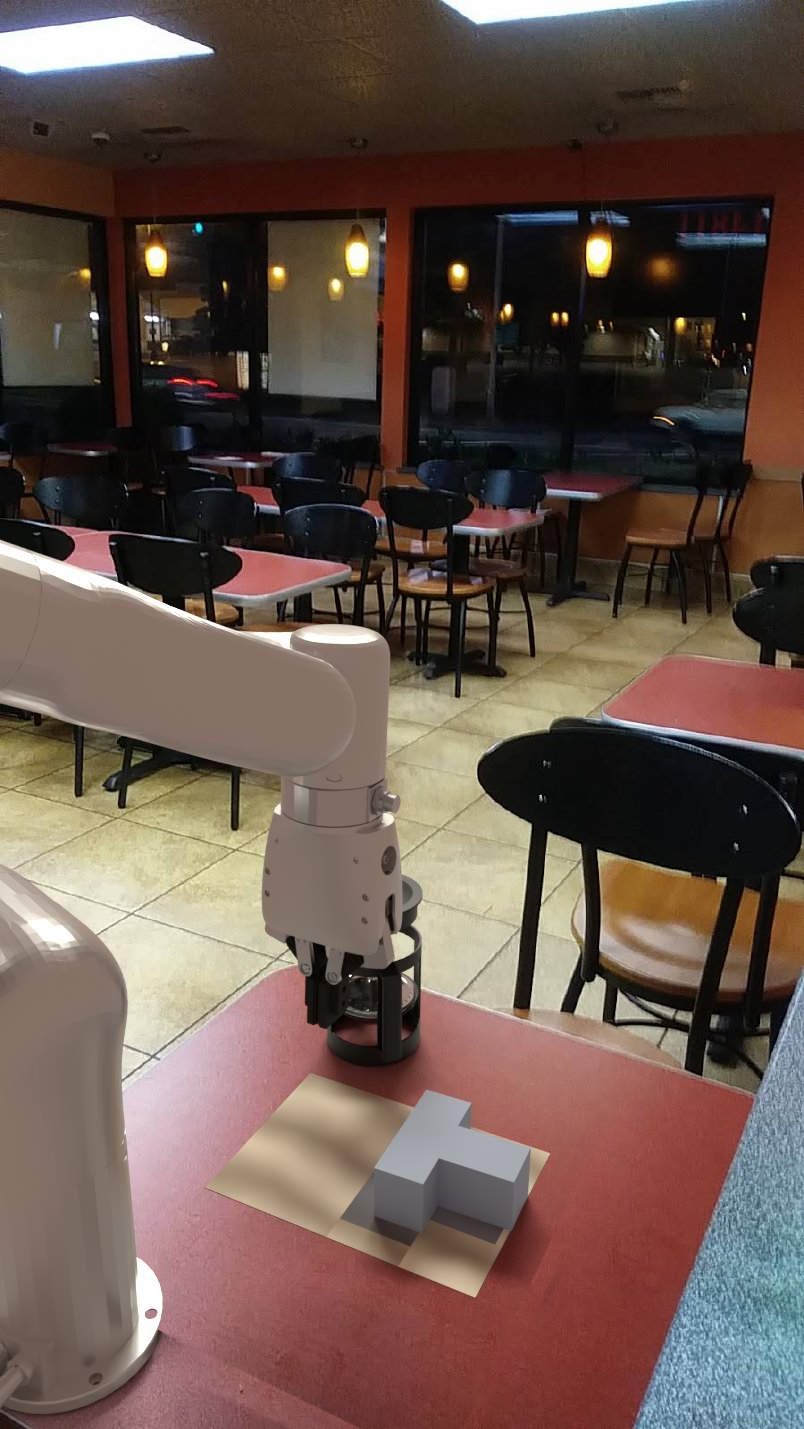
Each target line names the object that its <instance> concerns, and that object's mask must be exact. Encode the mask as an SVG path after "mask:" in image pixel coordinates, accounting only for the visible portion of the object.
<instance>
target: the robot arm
mask: <svg viewBox="0 0 804 1429" xmlns="http://www.w3.org/2000/svg"><path fill="white" fill-rule="evenodd" d="M390 651H391V650H390V646H389V644H388V642H387V640H386V639H385V637H384V636H382V634H380V632H377V631H376V630H373V629H370V628H367V627H363V626H358V625H352V624H341V623H340V624H338V623H334V624H333V623H332V624H331V623H329V624H328V623H324V624H315V625H308V626H304V627H300V628H299V629H297V630H294V631H286V632H285V631H283V632H281V631H279V632H278V631H275V632H274V631H273V632H272V631H271V632H269V631H248V630H247V631H244V630H235V629H233V628H230V627H226V626H224V625H221V624H218V623H216V622H213V621H210V620H207V619H205V618H201V617H200V616H196V615H194V614H191V613H189V612H186V611H184V610H181V609H178V608H176V607H173V606H170V605H168V604H166V603H164V602H161V601H159V600H156V599H154V598H152V597H151V596H148V595H146V594H143V593H142V592H140V591H138V590H135V589H133V588H131V587H129V586H126V585H124V584H122V583H120V582H117V581H115V580H112V579H111V578H108V577H106V576H103V575H99V574H98V573H94V572H93V571H89V570H87V569H85V568H82V567H79V566H77V565H73V564H71V563H68V562H66V561H62V560H60V559H56V558H54V557H51V556H48V555H44V554H42V553H38V552H36V551H33V550H30V549H27V548H25V547H21V546H19V545H17V544H12V543H10V542H7V541H4V540H1V539H0V704H2V705H6V706H10V707H14V708H18V709H22V710H26V711H29V712H34V713H38V714H40V715H44V716H45V715H46V716H48V717H51V718H53V719H57V720H60V721H63V722H66V723H69V724H73V725H77V726H79V727H80V726H81V727H84V728H87V729H88V728H89V729H93V730H96V731H102V732H105V733H110V734H115V735H119V736H122V737H127V738H130V739H131V738H132V739H135V740H139V741H142V742H146V743H148V744H149V743H150V744H153V745H157V746H160V747H164V748H167V749H170V750H174V751H176V752H180V753H185V754H187V755H188V754H189V755H191V756H195V757H199V758H203V759H207V760H211V761H214V762H217V763H222V764H228V765H231V766H235V767H238V768H239V767H240V768H244V769H248V770H253V771H257V772H261V773H265V774H271V775H274V776H275V775H276V776H279V777H280V803H279V804H277V805H276V806H275V807H274V810H273V813H272V818H271V821H270V825H269V827H268V828H269V829H268V833H267V834H268V835H267V838H266V839H267V840H266V846H265V850H264V857H263V868H262V877H261V878H262V880H261V912H262V918H263V920H264V923H265V925H264V931H265V933H266V934H267V935H268V936H270V937H271V938H273V939H274V940H277V941H278V942H280V943H282V944H283V945H284V944H286V946H287V947H288V949H289V950H290V952H291V953H292V955H293V956H294V958H296V961H297V968H298V971H299V973H300V974H301V975H302V976H304V977H305V978H304V979H305V980H304V1005H305V1006H306V1024H308V1025H311V1026H315V1025H318V1027H319V1028H321V1029H323V1030H327V1028H328V1027H329V1026H330V1025H331V1024H332V1023H333V1022H334V1021H336V1020H337V1019H338V1018H339V1017H341V1016H342V1015H343V1014H344V1013H345V1012H346V1010H347V1008H348V1002H349V975H350V974H351V973H352V972H354V971H355V970H357V969H358V968H360V967H366V968H373V969H385V968H386V967H387V966H388V965H389V964H391V963H392V962H393V961H395V958H396V957H395V950H394V945H393V940H392V935H397V934H398V933H400V932H399V930H400V928H401V924H402V875H403V874H402V861H401V860H402V859H401V858H402V857H401V851H400V843H399V837H398V831H397V826H396V821H395V817H394V816H393V815H392V814H396V813H398V811H399V810H400V807H401V802H402V800H401V796H400V795H399V794H394V793H392V791H390V790H388V778H387V777H386V766H387V765H386V764H387V745H388V720H389V704H390V703H389V699H390V698H389V697H390V676H391V675H390V673H391V652H390ZM329 947H330V951H329ZM125 980H126V979H125V977H124V973H123V972H122V968H121V967H120V965H119V963H118V961H117V959H116V958H115V955H114V954H113V953H112V951H111V950H110V949H109V947H108V946H107V945H106V944H105V942H104V941H103V940H102V939H101V938H100V937H99V936H98V935H97V934H96V933H95V932H94V931H93V930H91V929H90V927H89V926H88V925H86V924H85V923H83V922H82V921H81V920H80V919H78V918H77V917H76V916H75V915H74V914H72V913H71V912H70V911H68V910H67V909H66V908H65V907H63V906H62V905H61V904H60V903H58V902H56V901H55V900H53V899H52V898H51V897H50V896H48V894H46V893H44V892H43V891H42V890H41V889H40V888H38V886H36V885H35V884H33V883H32V882H30V880H28V879H27V878H25V877H24V876H22V875H21V874H20V873H18V872H17V871H15V870H13V869H12V868H10V867H8V866H6V865H4V864H2V863H0V1409H1V1408H2V1407H5V1408H7V1409H10V1410H12V1411H17V1412H21V1413H24V1414H31V1415H32V1414H34V1415H35V1414H37V1415H38V1414H40V1415H52V1414H59V1413H65V1412H70V1411H72V1410H76V1409H81V1408H82V1407H86V1406H88V1405H91V1404H93V1403H95V1402H98V1401H99V1400H101V1399H103V1398H106V1397H107V1396H109V1395H110V1394H113V1392H115V1391H117V1390H118V1389H119V1388H121V1387H122V1386H124V1385H125V1384H126V1383H127V1382H128V1381H129V1380H130V1379H131V1378H133V1376H135V1375H136V1374H137V1373H139V1371H140V1370H141V1368H142V1367H143V1366H144V1365H145V1364H146V1362H147V1361H148V1360H149V1358H150V1357H151V1356H152V1354H153V1351H154V1350H155V1348H156V1346H157V1345H158V1343H159V1340H160V1339H161V1338H160V1337H161V1334H162V1331H161V1330H160V1329H159V1327H160V1323H161V1321H162V1320H161V1319H162V1315H163V1310H164V1296H163V1293H162V1292H163V1291H162V1288H161V1284H160V1281H159V1280H158V1278H157V1276H156V1274H155V1272H154V1270H152V1268H150V1266H149V1265H148V1264H147V1263H146V1262H145V1261H143V1260H142V1259H140V1258H139V1257H138V1256H137V1244H136V1235H135V1224H134V1223H135V1222H134V1221H135V1220H134V1213H133V1200H132V1189H131V1176H130V1168H129V1166H130V1164H129V1155H128V1143H127V1132H126V1122H125V1115H124V1114H125V1111H124V1097H123V1096H124V1095H123V1074H122V1073H123V1071H122V1070H123V1067H122V1066H123V1052H124V1051H123V1050H124V1042H125V1034H126V1028H127V1021H128V1020H127V1019H128V1009H129V1008H128V1007H129V1002H128V1001H129V1000H128V989H127V984H126V981H125ZM150 1310H156V1312H157V1314H156V1316H155V1317H154V1318H150V1319H148V1318H147V1317H146V1315H145V1314H146V1313H147V1311H150Z"/></svg>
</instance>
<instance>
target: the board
mask: <svg viewBox="0 0 804 1429" xmlns="http://www.w3.org/2000/svg"><path fill="white" fill-rule="evenodd" d="M414 1107H415V1106H412V1105H411V1106H410V1105H407V1104H405V1103H403V1102H399V1101H395V1100H392V1099H390V1098H386V1097H383V1096H380V1095H378V1094H375V1093H371V1092H369V1091H366V1090H363V1089H360V1088H356V1087H355V1086H351V1085H348V1084H345V1083H342V1082H339V1081H336V1080H333V1079H330V1078H327V1077H324V1076H321V1075H318V1074H315V1073H311V1072H310V1073H309V1074H308V1075H307V1076H306V1077H305V1078H304V1079H303V1080H302V1082H301V1083H300V1084H298V1086H297V1087H296V1088H295V1089H294V1090H293V1091H292V1092H291V1093H290V1095H288V1097H287V1098H286V1099H285V1100H284V1101H283V1102H282V1103H281V1104H280V1105H279V1106H278V1107H277V1109H275V1111H274V1112H273V1113H272V1114H271V1115H270V1116H269V1117H268V1118H267V1119H266V1121H265V1122H264V1123H262V1125H261V1126H260V1127H259V1128H258V1130H257V1131H255V1133H253V1135H252V1136H251V1137H250V1138H249V1139H248V1140H247V1141H246V1142H245V1144H244V1145H243V1146H242V1147H241V1148H239V1150H238V1151H237V1152H236V1154H234V1155H233V1156H232V1158H231V1159H230V1160H229V1161H227V1163H226V1164H225V1165H224V1166H223V1167H222V1169H221V1170H220V1171H219V1172H218V1173H217V1174H216V1175H214V1177H213V1178H212V1179H211V1180H210V1182H209V1183H208V1184H207V1185H206V1186H205V1187H204V1188H205V1189H206V1190H209V1191H211V1192H215V1193H216V1194H219V1195H221V1196H223V1197H226V1198H229V1199H231V1200H234V1201H237V1202H239V1203H241V1204H244V1205H246V1206H248V1207H251V1208H252V1209H255V1210H258V1211H260V1212H263V1213H265V1214H268V1215H269V1216H272V1217H275V1218H277V1219H281V1220H283V1221H285V1222H288V1223H291V1224H292V1225H295V1226H298V1227H299V1228H302V1229H305V1230H306V1231H310V1232H312V1233H314V1234H317V1235H319V1236H321V1237H324V1238H327V1239H329V1240H332V1241H334V1242H337V1243H339V1244H341V1245H343V1246H347V1247H349V1248H352V1249H354V1250H356V1251H359V1252H361V1253H364V1254H366V1255H368V1256H371V1257H374V1258H376V1259H379V1260H381V1261H383V1262H385V1263H388V1264H391V1265H393V1266H396V1267H398V1268H400V1269H403V1270H406V1271H408V1272H411V1273H412V1274H415V1275H417V1276H420V1277H423V1278H425V1279H428V1280H430V1281H433V1282H434V1283H437V1284H439V1285H442V1286H445V1287H447V1288H450V1289H452V1290H454V1291H457V1292H460V1293H462V1294H464V1295H467V1296H468V1297H471V1298H474V1299H476V1297H477V1296H478V1293H479V1292H480V1289H481V1288H482V1286H483V1285H484V1283H485V1281H486V1278H487V1276H488V1275H489V1272H490V1270H491V1269H492V1266H493V1265H494V1263H495V1261H496V1259H497V1257H498V1255H499V1253H500V1251H501V1249H502V1247H503V1246H504V1244H505V1242H506V1240H507V1238H508V1236H509V1234H510V1233H511V1231H510V1230H507V1229H504V1228H501V1227H498V1226H495V1225H492V1224H489V1223H486V1222H483V1221H480V1220H478V1219H475V1218H472V1217H469V1216H466V1215H463V1214H460V1213H457V1212H454V1211H451V1210H448V1209H445V1208H442V1207H440V1206H437V1208H436V1210H435V1211H434V1213H433V1215H432V1217H431V1219H430V1220H429V1222H428V1224H427V1226H426V1227H425V1229H424V1231H423V1233H420V1232H417V1231H415V1230H412V1229H409V1228H406V1227H403V1226H401V1225H398V1224H395V1223H392V1222H389V1221H386V1220H384V1219H381V1218H378V1217H375V1216H374V1167H375V1166H376V1164H377V1163H378V1161H379V1160H380V1158H381V1157H382V1155H383V1154H384V1152H385V1151H386V1149H387V1148H388V1146H389V1145H390V1143H391V1142H392V1140H393V1139H394V1137H395V1136H396V1134H397V1133H398V1131H399V1130H400V1128H401V1127H402V1125H403V1124H404V1122H405V1121H406V1119H407V1118H408V1116H409V1115H410V1113H411V1112H412V1110H413V1109H414ZM471 1130H474V1131H477V1132H480V1133H484V1134H487V1135H490V1136H493V1137H497V1138H500V1139H503V1140H506V1141H510V1142H513V1143H516V1144H519V1145H523V1146H526V1147H529V1148H531V1153H530V1171H529V1188H528V1197H527V1199H526V1201H525V1203H526V1202H527V1200H528V1198H529V1196H530V1194H531V1192H532V1190H533V1188H534V1187H535V1184H536V1182H537V1180H538V1179H539V1176H540V1174H541V1172H542V1171H543V1168H544V1166H545V1165H546V1163H547V1161H548V1159H549V1157H550V1155H551V1153H550V1152H547V1151H545V1150H542V1149H539V1148H535V1147H533V1146H530V1145H526V1144H524V1143H521V1142H518V1141H515V1140H512V1139H509V1138H505V1137H503V1136H500V1135H497V1134H494V1133H491V1132H488V1131H485V1130H482V1129H479V1128H476V1127H473V1126H471ZM525 1203H524V1205H525Z"/></svg>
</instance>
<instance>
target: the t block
mask: <svg viewBox="0 0 804 1429" xmlns="http://www.w3.org/2000/svg"><path fill="white" fill-rule="evenodd" d="M413 1107H414V1109H413V1110H412V1112H411V1113H410V1115H409V1116H408V1118H407V1119H406V1121H405V1122H404V1124H403V1125H402V1127H401V1128H400V1130H399V1131H398V1133H397V1134H396V1136H395V1137H394V1139H393V1140H392V1142H391V1143H390V1145H389V1146H388V1148H387V1149H386V1151H385V1152H384V1154H383V1155H382V1157H381V1158H380V1160H379V1161H378V1163H377V1164H376V1166H375V1167H374V1216H375V1217H378V1218H381V1219H384V1220H386V1221H389V1222H392V1223H395V1224H398V1225H401V1226H403V1227H406V1228H409V1229H412V1230H415V1231H417V1232H420V1233H423V1231H424V1229H425V1227H426V1226H427V1224H428V1222H429V1220H430V1219H431V1217H432V1215H433V1213H434V1211H435V1210H436V1208H437V1206H440V1207H442V1208H445V1209H448V1210H451V1211H454V1212H457V1213H460V1214H463V1215H466V1216H469V1217H472V1218H475V1219H478V1220H480V1221H483V1222H486V1223H489V1224H492V1225H495V1226H498V1227H501V1228H504V1229H507V1230H510V1232H513V1229H514V1227H515V1224H516V1222H517V1220H518V1218H519V1216H520V1213H521V1211H522V1210H523V1207H524V1205H525V1204H524V1203H526V1202H527V1200H528V1198H529V1196H528V1188H529V1171H530V1153H531V1148H529V1147H526V1146H523V1145H519V1144H516V1143H513V1142H510V1141H506V1140H503V1139H500V1138H497V1137H493V1136H490V1135H487V1134H484V1133H480V1132H477V1131H474V1130H471V1127H472V1107H473V1106H472V1102H470V1101H466V1100H463V1099H461V1098H456V1097H454V1096H449V1095H446V1094H443V1093H440V1092H436V1091H434V1090H429V1089H425V1091H424V1093H423V1094H422V1095H421V1097H420V1098H419V1100H418V1101H417V1103H416V1105H415V1106H413ZM527 1197H528V1198H527ZM526 1199H527V1200H526ZM525 1201H526V1202H525Z"/></svg>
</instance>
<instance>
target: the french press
mask: <svg viewBox="0 0 804 1429" xmlns="http://www.w3.org/2000/svg"><path fill="white" fill-rule="evenodd" d="M423 896H424V895H423V888H422V887H421V885H420V884H419V883H418V881H416V880H415V879H413V878H412V877H410V876H407V875H405V874H402V924H401V928H400V930H399V932H398V933H401V934H403V935H405V936H407V937H409V938H410V939H412V940H413V951H412V952H411V953H410V954H408V955H407V956H405V957H403V958H400V959H397V960H394V961H393V962H392V963H391V964H389V965H388V966H387V967H386V968H385V969H373V968H366V967H360V968H358V969H357V970H355V971H354V972H352V973H351V974H350V975H349V1002H348V1008H347V1010H346V1012H345V1013H344V1014H343V1015H342V1016H341V1017H339V1018H338V1019H337V1020H336V1021H334V1022H333V1023H332V1024H331V1025H330V1026H329V1027H328V1028H327V1029H326V1042H327V1046H328V1048H329V1050H330V1051H331V1052H332V1053H333V1055H334V1056H335V1057H337V1058H338V1059H340V1060H342V1062H346V1063H348V1064H350V1065H354V1066H358V1067H364V1068H381V1067H388V1066H394V1065H396V1064H398V1063H402V1062H403V1061H405V1060H407V1059H409V1058H410V1057H412V1055H413V1054H414V1053H416V1052H417V1050H418V1048H419V1045H420V1042H421V1003H422V1002H421V998H422V997H421V996H422V994H421V993H422V991H421V990H422V988H421V987H422V985H421V984H422V950H423V949H422V945H423V940H422V939H423V938H422V934H421V932H420V931H419V930H418V928H417V927H415V926H414V925H412V924H413V923H415V921H416V919H417V917H418V906H419V905H420V904H421V902H422V900H423ZM329 951H330V947H329ZM411 968H413V979H412V978H411V977H410V976H409V975H407V974H405V973H404V972H407V971H408V970H410V969H411ZM347 1018H352V1019H356V1020H360V1021H366V1022H376V1046H375V1045H362V1044H357V1043H353V1042H350V1041H348V1040H345V1039H343V1038H342V1037H340V1036H338V1035H337V1034H336V1033H335V1032H334V1028H335V1027H336V1026H337V1025H338V1024H339V1023H341V1022H342V1021H344V1020H345V1019H347ZM403 1020H404V1021H407V1022H408V1023H409V1024H410V1025H411V1026H412V1027H413V1029H414V1030H413V1031H412V1032H411V1033H410V1034H409V1035H408V1036H407V1037H405V1038H403V1037H402V1034H403V1029H402V1028H403V1026H402V1025H403ZM402 1038H403V1039H402Z"/></svg>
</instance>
